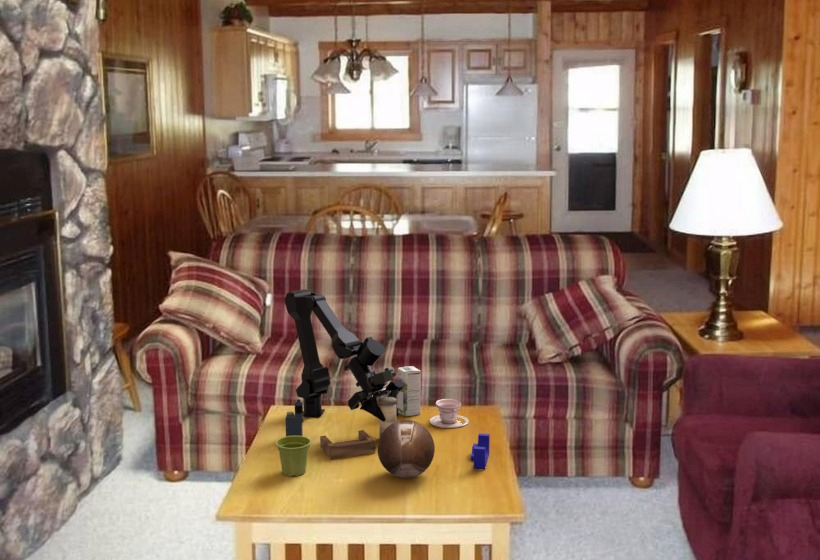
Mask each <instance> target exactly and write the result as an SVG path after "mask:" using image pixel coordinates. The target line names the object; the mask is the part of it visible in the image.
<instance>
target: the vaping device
mask: <svg viewBox="0 0 820 560" xmlns="http://www.w3.org/2000/svg"><path fill="white" fill-rule="evenodd" d="M303 411H304V409H303V401H301V399H299V398H298V399H296V401H295V402H294V412H293V411H287V412H286V415H285V419H284V421H285V437H287V436H304V434H303V431H304V430H303V423H304V420H305V419H304V416H303Z"/></svg>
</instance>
